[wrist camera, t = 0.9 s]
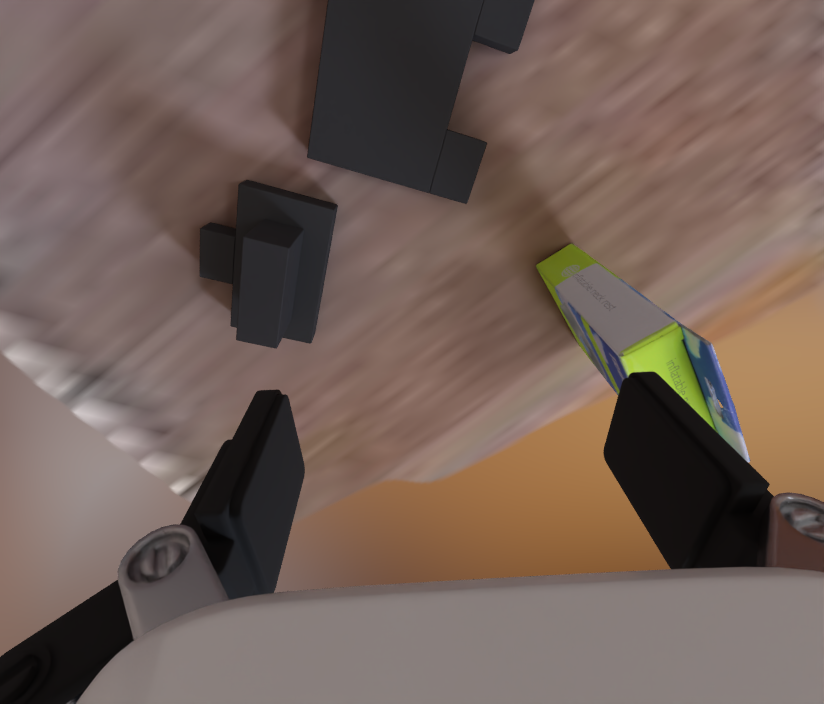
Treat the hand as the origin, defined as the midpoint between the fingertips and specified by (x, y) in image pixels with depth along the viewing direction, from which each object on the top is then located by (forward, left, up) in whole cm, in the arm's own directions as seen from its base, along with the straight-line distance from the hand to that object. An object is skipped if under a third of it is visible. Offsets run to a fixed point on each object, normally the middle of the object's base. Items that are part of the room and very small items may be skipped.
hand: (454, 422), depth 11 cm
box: (+3, +16, -25) cm, 30 cm away
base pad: (-9, -3, -25) cm, 27 cm away
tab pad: (+7, -11, -25) cm, 28 cm away
